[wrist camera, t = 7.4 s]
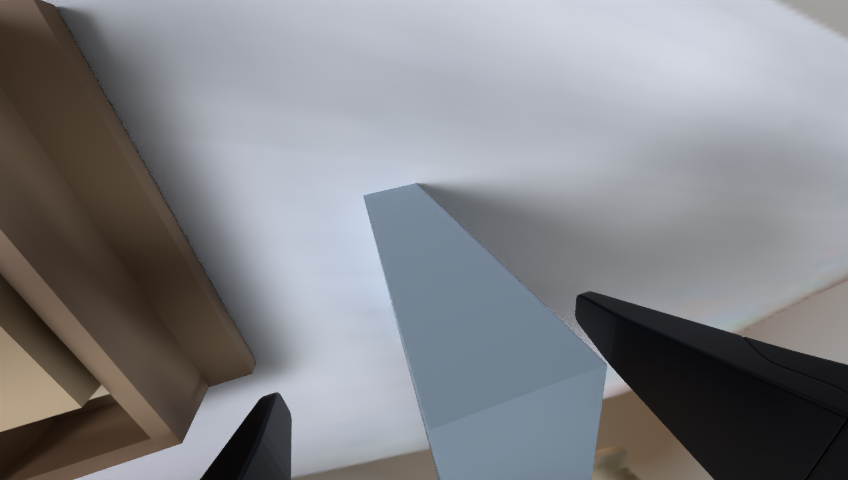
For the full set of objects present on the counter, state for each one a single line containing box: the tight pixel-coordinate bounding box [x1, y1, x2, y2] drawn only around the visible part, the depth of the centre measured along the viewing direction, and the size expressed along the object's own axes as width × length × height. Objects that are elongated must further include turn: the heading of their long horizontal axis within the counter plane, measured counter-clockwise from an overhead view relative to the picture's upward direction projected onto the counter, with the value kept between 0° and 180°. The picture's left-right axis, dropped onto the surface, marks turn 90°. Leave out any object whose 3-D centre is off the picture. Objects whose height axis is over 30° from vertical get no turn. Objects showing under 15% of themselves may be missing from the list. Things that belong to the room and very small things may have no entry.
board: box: [364, 183, 607, 480], centre depth 9 cm, size 7×2×9 cm, turn 10°
